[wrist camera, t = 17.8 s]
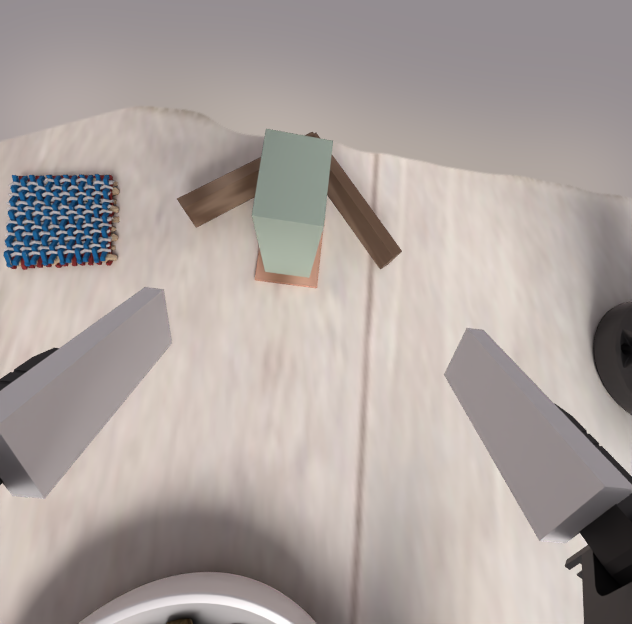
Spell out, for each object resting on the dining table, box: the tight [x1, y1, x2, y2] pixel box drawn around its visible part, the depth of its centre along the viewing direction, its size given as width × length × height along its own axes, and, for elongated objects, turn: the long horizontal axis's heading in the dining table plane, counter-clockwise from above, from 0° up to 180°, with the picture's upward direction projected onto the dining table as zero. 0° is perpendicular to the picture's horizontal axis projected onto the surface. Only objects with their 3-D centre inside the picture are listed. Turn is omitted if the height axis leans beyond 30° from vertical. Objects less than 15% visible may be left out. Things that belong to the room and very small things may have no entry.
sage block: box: [252, 129, 333, 278], centre depth 25 cm, size 5×7×12 cm
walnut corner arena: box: [177, 132, 402, 288], centre depth 30 cm, size 17×17×4 cm
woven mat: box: [4, 174, 119, 270], centre depth 29 cm, size 10×11×2 cm
